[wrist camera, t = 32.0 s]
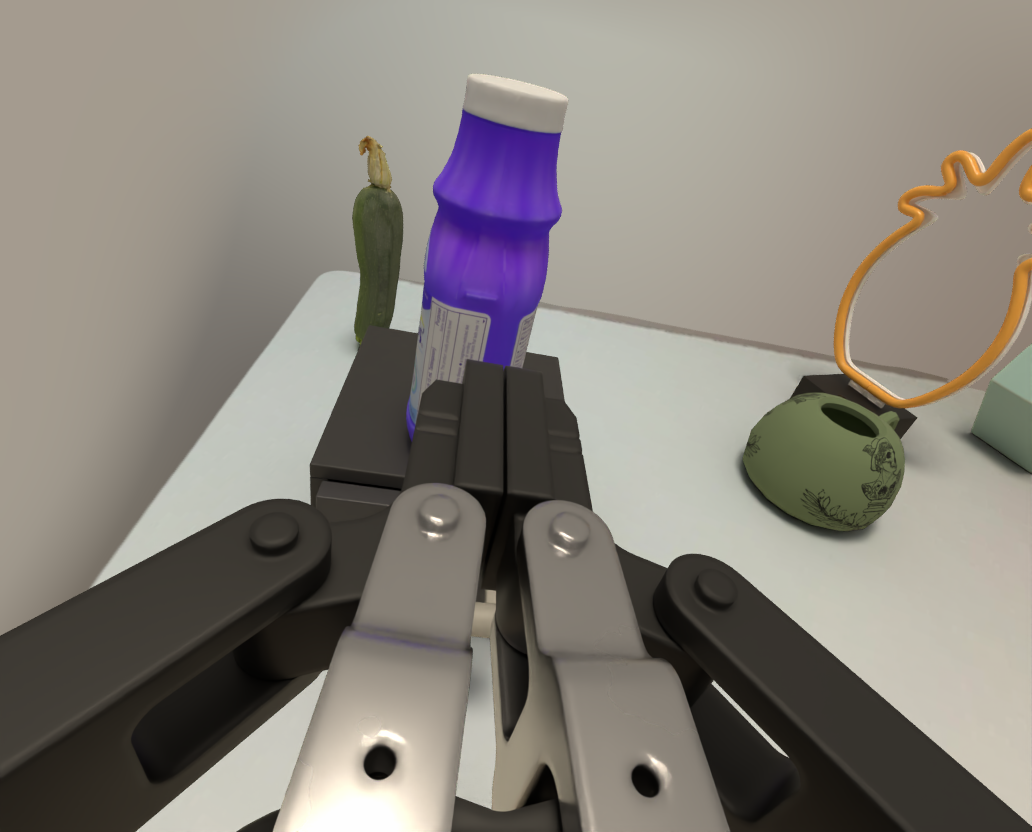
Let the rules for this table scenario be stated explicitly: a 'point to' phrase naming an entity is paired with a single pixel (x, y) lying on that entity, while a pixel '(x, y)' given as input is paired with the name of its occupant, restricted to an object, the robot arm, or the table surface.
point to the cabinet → (384, 412)
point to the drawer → (371, 499)
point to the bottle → (489, 232)
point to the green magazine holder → (1009, 411)
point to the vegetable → (377, 243)
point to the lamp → (1027, 278)
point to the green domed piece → (827, 460)
